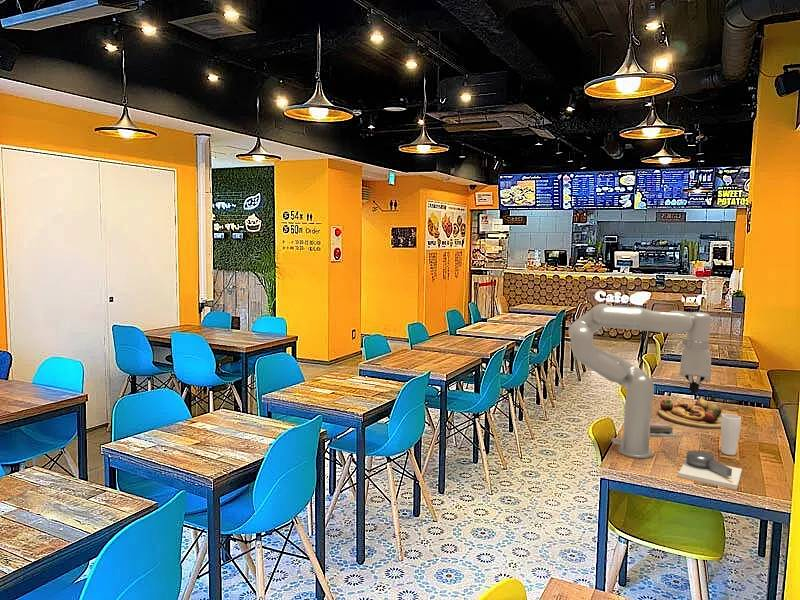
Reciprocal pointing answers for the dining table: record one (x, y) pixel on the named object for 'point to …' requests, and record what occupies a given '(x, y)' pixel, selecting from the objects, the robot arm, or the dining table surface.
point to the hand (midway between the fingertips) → (693, 392)
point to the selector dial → (706, 462)
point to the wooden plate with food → (692, 414)
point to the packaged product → (661, 430)
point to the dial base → (711, 476)
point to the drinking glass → (730, 433)
